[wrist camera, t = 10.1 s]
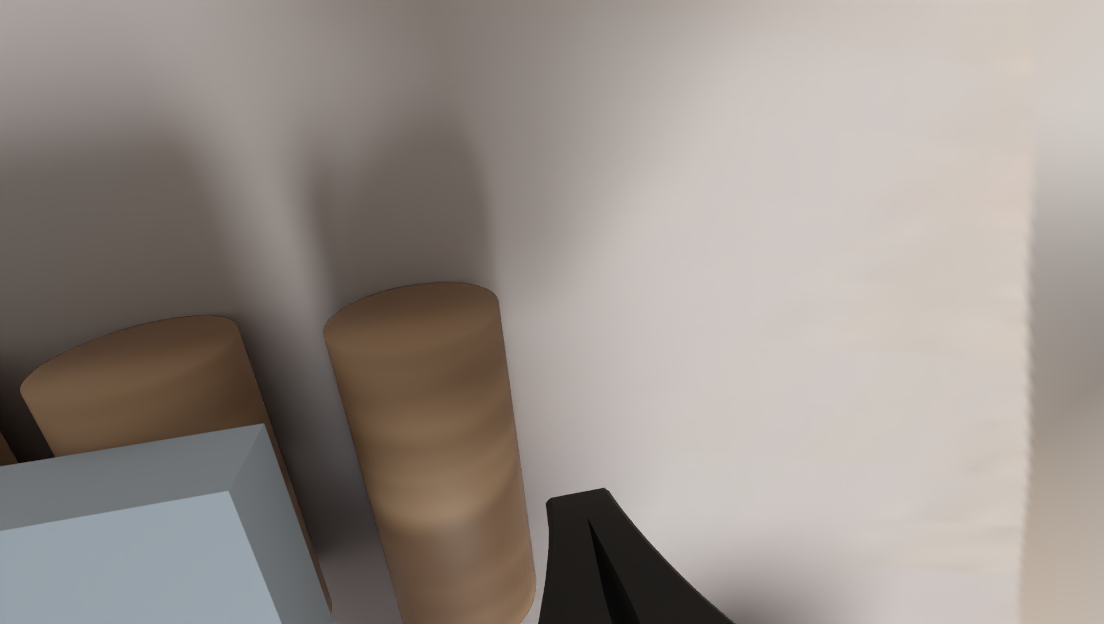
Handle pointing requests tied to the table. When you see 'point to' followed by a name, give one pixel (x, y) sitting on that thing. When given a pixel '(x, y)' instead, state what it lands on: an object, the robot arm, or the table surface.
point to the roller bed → (374, 421)
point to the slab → (156, 537)
